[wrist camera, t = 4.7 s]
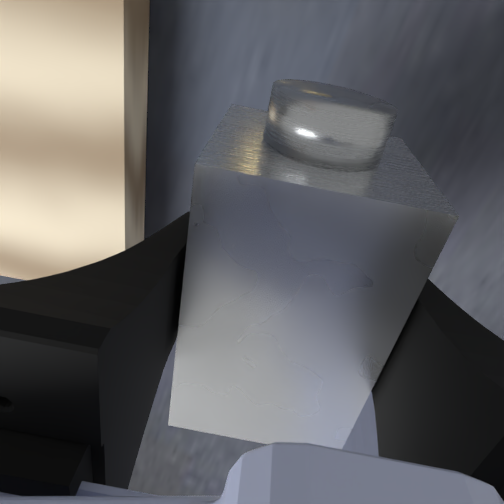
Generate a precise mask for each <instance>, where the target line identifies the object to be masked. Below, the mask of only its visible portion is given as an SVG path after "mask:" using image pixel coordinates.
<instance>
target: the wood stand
mask: <svg viewBox="0 0 504 504" xmlns="http://www.w3.org/2000/svg"><path fill="white" fill-rule="evenodd" d="M149 5H150V0H0V275H2V276H7V277H12V278H18V279H23V280H32V279H37V278H42V277H46V276H51V275H55V274H59V273H63V272H67V271H70V270H73V269H76V268H79V267H83V266H86V265H89V264H92V263H95V262H98V261H101V260H103V259H106V258H108V257H111V256H113V255H116V254H118V253H120V252H122V251H124V250H126V249H128V248H130V247H132V246H134V245H136V244H138V243H140V242H141V241H143V240H144V220H145V177H146V134H147V91H148V48H149Z"/></svg>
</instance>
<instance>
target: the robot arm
mask: <svg viewBox="0 0 504 504" xmlns="http://www.w3.org/2000/svg"><path fill="white" fill-rule="evenodd" d="M189 217H190V212H187V213H185V214H184V215H182V216H181V217H179V218H178V219H176V220H175V221H173V222H172V223H170V224H169V225H167V226H166V227H165V228H163V229H161V230H160V231H158V232H157V233H155V234H154V235H152V236H150V237H149V238H147V239H145V240H143V241H141V242H140V243H138V244H136V245H134V246H132V247H130V248H128V249H126V250H124V251H122V252H120V253H118V254H116V255H113V256H111V257H108V258H106V259H103V260H101V261H98V262H95V263H92V264H89V265H86V266H83V267H79V268H76V269H73V270H70V271H67V272H63V273H59V274H55V275H51V276H46V277H42V278H37V279H32V280H27V281H21V282H15V283H8V284H1V285H0V504H504V341H503V340H502V339H501V338H499V337H498V336H496V335H495V334H494V333H492V332H491V331H489V330H488V329H487V328H485V327H484V326H482V325H481V324H480V323H478V322H477V321H476V320H475V319H473V318H472V317H471V316H470V315H468V314H467V313H466V312H465V311H464V310H462V309H461V308H460V307H459V306H458V305H456V304H455V303H454V302H453V301H452V300H451V299H449V298H448V297H447V296H446V295H445V294H444V293H443V292H442V291H441V290H439V289H438V288H437V287H436V286H435V285H434V284H433V283H432V282H431V281H430V280H429V279H427V281H426V283H425V285H424V287H423V289H422V291H421V293H420V295H419V297H418V299H417V301H416V303H415V305H414V307H413V309H412V311H411V313H410V315H409V317H408V319H407V321H406V323H405V325H404V327H403V329H402V331H401V333H400V335H399V337H398V339H397V341H396V343H395V345H394V347H393V349H392V351H391V353H390V355H389V357H388V359H387V361H386V363H385V365H384V366H383V368H382V370H381V372H380V374H379V376H378V378H377V380H376V382H375V384H374V386H373V388H372V390H371V392H370V394H369V396H368V398H367V400H366V402H365V404H364V406H363V408H362V410H361V412H360V414H359V416H358V418H357V420H356V422H355V424H354V426H353V428H352V430H351V432H350V434H349V436H348V438H347V440H346V442H345V444H344V446H343V448H342V449H337V448H332V447H326V446H321V445H316V444H311V443H292V442H274V443H271V444H268V445H265V446H262V447H259V448H256V449H253V450H250V451H248V452H246V453H244V454H243V455H242V456H241V457H240V458H239V460H238V461H237V462H236V463H235V465H234V466H233V467H232V468H231V469H230V471H229V473H228V477H227V481H226V485H225V489H224V492H223V494H222V495H221V496H159V495H154V494H149V493H144V492H138V491H133V490H128V486H129V482H130V479H131V475H132V471H133V468H134V465H135V461H136V458H137V454H138V451H139V448H140V444H141V441H142V437H143V434H144V430H145V427H146V424H147V421H148V417H149V414H150V411H151V407H152V404H153V401H154V398H155V394H156V391H157V388H158V385H159V382H160V379H161V375H162V372H163V369H164V367H165V364H166V361H167V359H168V356H169V354H170V352H171V349H172V347H173V345H174V342H175V340H176V338H177V334H178V324H179V315H180V305H181V295H182V285H183V275H184V266H185V256H186V246H187V236H188V227H189Z"/></svg>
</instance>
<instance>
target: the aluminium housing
mask: <svg viewBox="0 0 504 504" xmlns="http://www.w3.org/2000/svg"><path fill="white" fill-rule="evenodd" d="M397 113H398V110H397V108H396V107H395V106H393V105H392V104H390V103H388V102H386V101H384V100H382V99H379V98H377V97H374V96H371V95H368V94H365V93H362V92H359V91H355V90H352V89H348V88H344V87H340V86H335V85H330V84H325V83H320V82H313V81H306V80H293V79H285V80H277V81H275V82H274V83H273V86H272V91H271V96H270V102H269V107H268V111H264V110H259V109H254V108H249V107H244V106H239V105H234V104H231V106H230V107H229V109H228V111H227V112H226V114H225V115H224V117H223V119H222V120H221V122H220V124H219V125H218V127H217V128H216V130H215V132H214V133H213V135H212V137H211V138H210V140H209V141H208V143H207V145H206V146H205V148H204V150H203V151H202V153H201V154H200V156H199V158H198V159H197V161H196V163H195V168H194V178H193V187H192V197H191V207H190V217H189V227H188V236H187V246H186V256H185V266H184V275H183V285H182V295H181V305H180V315H179V324H178V334H177V344H176V354H175V364H174V373H173V383H172V393H171V403H170V412H169V422H168V425H170V426H175V427H180V428H186V429H191V430H196V431H201V432H206V433H212V434H217V435H222V436H227V437H232V438H238V439H243V440H248V441H253V442H259V443H264V444H271V443H274V442H292V443H311V444H316V445H321V446H326V447H332V448H337V449H342V448H343V446H344V444H345V442H346V440H347V438H348V436H349V434H350V432H351V430H352V428H353V426H354V424H355V422H356V420H357V418H358V416H359V414H360V412H361V410H362V408H363V406H364V404H365V402H366V400H367V398H368V396H369V394H370V392H371V390H372V388H373V386H374V384H375V382H376V380H377V378H378V376H379V374H380V372H381V370H382V368H383V366H384V365H385V363H386V361H387V359H388V357H389V355H390V353H391V351H392V349H393V347H394V345H395V343H396V341H397V339H398V337H399V335H400V333H401V331H402V329H403V327H404V325H405V323H406V321H407V319H408V317H409V315H410V313H411V311H412V309H413V307H414V305H415V303H416V301H417V299H418V297H419V295H420V293H421V291H422V289H423V287H424V285H425V283H426V281H427V279H428V277H429V275H430V273H431V271H432V269H433V267H434V265H435V263H436V261H437V259H438V257H439V255H440V253H441V251H442V249H443V247H444V245H445V243H446V241H447V239H448V237H449V235H450V233H451V231H452V229H453V227H454V225H455V223H456V221H457V219H458V217H459V216H458V214H457V213H456V212H455V210H454V209H453V208H452V206H451V205H450V204H449V202H448V201H447V200H446V198H445V197H444V196H443V194H442V193H441V191H440V190H439V189H438V187H437V186H436V185H435V183H434V182H433V181H432V179H431V178H430V177H429V175H428V174H427V173H426V171H425V170H424V168H423V167H422V166H421V164H420V163H419V162H418V160H417V159H416V158H415V156H414V155H413V154H412V152H411V151H410V149H409V148H408V147H407V145H406V144H405V143H404V141H403V140H402V139H401V138H397V137H392V136H390V133H391V130H392V127H393V124H394V122H395V119H396V116H397Z"/></svg>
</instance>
